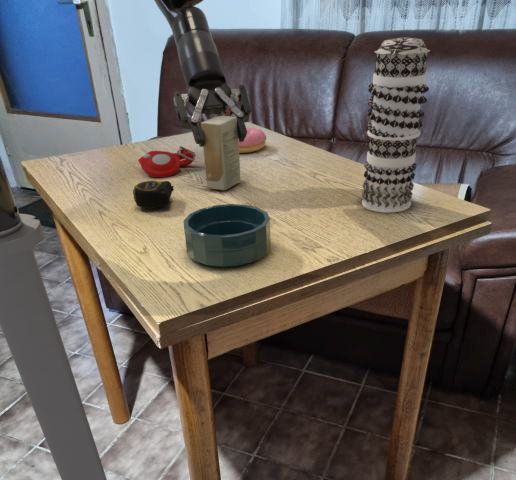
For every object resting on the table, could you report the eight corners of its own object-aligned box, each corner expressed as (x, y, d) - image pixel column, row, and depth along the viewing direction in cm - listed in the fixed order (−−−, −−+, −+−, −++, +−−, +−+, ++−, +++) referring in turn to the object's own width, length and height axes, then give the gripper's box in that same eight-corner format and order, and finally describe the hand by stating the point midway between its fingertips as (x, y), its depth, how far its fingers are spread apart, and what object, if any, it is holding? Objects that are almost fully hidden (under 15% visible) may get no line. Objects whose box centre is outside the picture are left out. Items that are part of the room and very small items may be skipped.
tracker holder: (164, 175, 105) (127, 158, 108) (167, 192, 109) (130, 175, 112) (200, 147, 112) (163, 131, 115) (201, 164, 115) (166, 149, 118)
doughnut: (217, 145, 128) (216, 127, 125) (260, 140, 129) (260, 123, 127) (226, 156, 119) (224, 137, 116) (271, 151, 121) (271, 133, 118)
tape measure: (170, 211, 92) (167, 190, 90) (132, 212, 92) (128, 192, 90) (175, 198, 97) (172, 178, 95) (139, 199, 97) (135, 179, 95)
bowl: (189, 274, 72) (184, 240, 69) (186, 238, 82) (182, 208, 79) (276, 265, 73) (275, 231, 70) (263, 231, 83) (262, 200, 80)
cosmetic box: (223, 178, 105) (219, 114, 98) (241, 181, 103) (238, 116, 96) (205, 188, 100) (199, 121, 93) (224, 191, 98) (219, 123, 91)
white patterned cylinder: (369, 216, 86) (385, 44, 72) (352, 197, 94) (363, 38, 79) (421, 210, 87) (446, 40, 73) (400, 192, 95) (419, 34, 80)
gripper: (164, 52, 92) (187, 134, 90) (239, 46, 96) (263, 125, 94) (162, 81, 99) (183, 157, 97) (233, 74, 103) (254, 148, 101)
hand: (222, 141), depth 95 cm, fingers closed on cosmetic box, 7 cm apart
